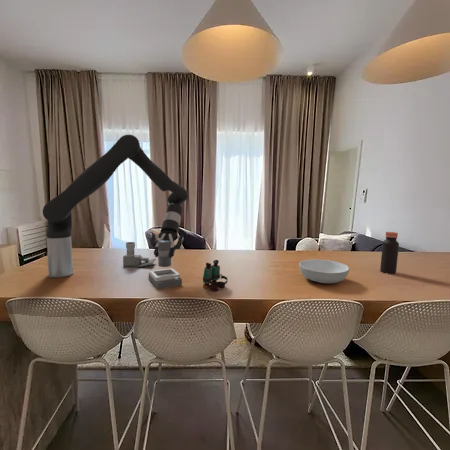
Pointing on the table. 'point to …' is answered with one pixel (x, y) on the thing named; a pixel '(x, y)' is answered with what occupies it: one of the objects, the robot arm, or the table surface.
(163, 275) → the plate
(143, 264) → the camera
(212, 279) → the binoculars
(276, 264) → the table surface
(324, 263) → the serving bowl
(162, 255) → the lens
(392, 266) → the bottle
